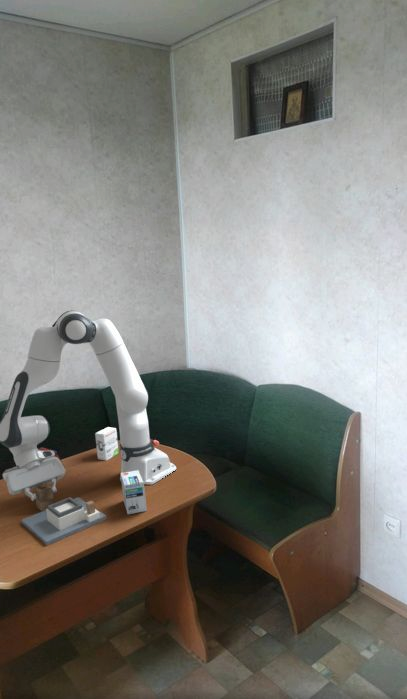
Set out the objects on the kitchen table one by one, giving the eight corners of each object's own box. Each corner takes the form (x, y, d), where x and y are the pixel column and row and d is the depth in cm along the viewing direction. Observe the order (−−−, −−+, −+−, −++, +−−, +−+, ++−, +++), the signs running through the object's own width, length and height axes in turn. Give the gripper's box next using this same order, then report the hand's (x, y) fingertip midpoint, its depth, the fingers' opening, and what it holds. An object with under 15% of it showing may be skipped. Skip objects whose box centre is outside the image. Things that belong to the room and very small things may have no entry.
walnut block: (48, 502, 190) (45, 481, 188) (54, 506, 186) (51, 484, 184) (36, 507, 187) (33, 485, 185) (42, 511, 183) (39, 489, 182)
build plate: (78, 500, 190) (76, 483, 188) (106, 519, 176) (104, 500, 174) (21, 523, 176) (19, 504, 175) (47, 545, 162) (44, 525, 161)
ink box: (110, 451, 232) (107, 426, 230) (119, 453, 230) (116, 427, 228) (97, 459, 225) (94, 432, 223) (106, 460, 223) (103, 434, 220)
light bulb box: (147, 511, 179) (144, 481, 177) (127, 515, 177) (124, 485, 175) (141, 497, 189) (139, 469, 187) (122, 501, 188) (119, 472, 185)
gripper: (2, 467, 182) (17, 503, 176) (57, 449, 195) (73, 482, 189) (-1, 475, 186) (13, 510, 181) (53, 457, 199) (68, 489, 194)
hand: (44, 496), depth 185 cm, fingers open, 6 cm apart
